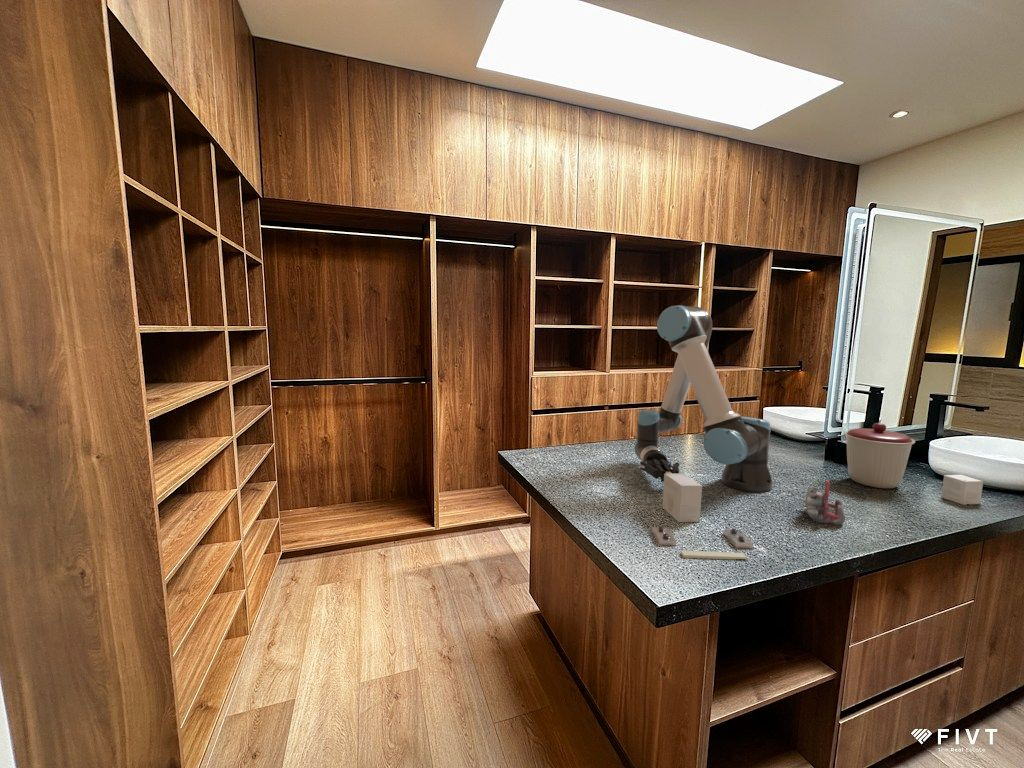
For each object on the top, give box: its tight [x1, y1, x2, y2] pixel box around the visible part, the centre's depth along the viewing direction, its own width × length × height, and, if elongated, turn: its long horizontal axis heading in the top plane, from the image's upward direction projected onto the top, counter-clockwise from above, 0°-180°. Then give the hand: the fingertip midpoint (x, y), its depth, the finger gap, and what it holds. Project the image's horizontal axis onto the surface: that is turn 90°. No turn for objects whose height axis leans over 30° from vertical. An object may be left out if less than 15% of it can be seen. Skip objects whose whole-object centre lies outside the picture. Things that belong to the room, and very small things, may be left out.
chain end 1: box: [651, 526, 677, 546], centre depth 105 cm, size 4×7×2 cm, turn 176°
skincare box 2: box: [941, 474, 984, 506], centre depth 129 cm, size 6×6×7 cm
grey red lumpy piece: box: [801, 480, 846, 526], centre depth 117 cm, size 11×11×12 cm
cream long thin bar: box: [680, 550, 748, 561], centre depth 97 cm, size 14×2×1 cm, turn 86°
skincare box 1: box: [661, 473, 703, 523], centre depth 119 cm, size 10×6×10 cm, turn 5°
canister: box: [844, 422, 916, 489], centre depth 143 cm, size 18×18×21 cm
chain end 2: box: [722, 528, 754, 549], centre depth 104 cm, size 4×7×2 cm, turn 176°
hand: (674, 483), depth 124 cm, fingers closed
